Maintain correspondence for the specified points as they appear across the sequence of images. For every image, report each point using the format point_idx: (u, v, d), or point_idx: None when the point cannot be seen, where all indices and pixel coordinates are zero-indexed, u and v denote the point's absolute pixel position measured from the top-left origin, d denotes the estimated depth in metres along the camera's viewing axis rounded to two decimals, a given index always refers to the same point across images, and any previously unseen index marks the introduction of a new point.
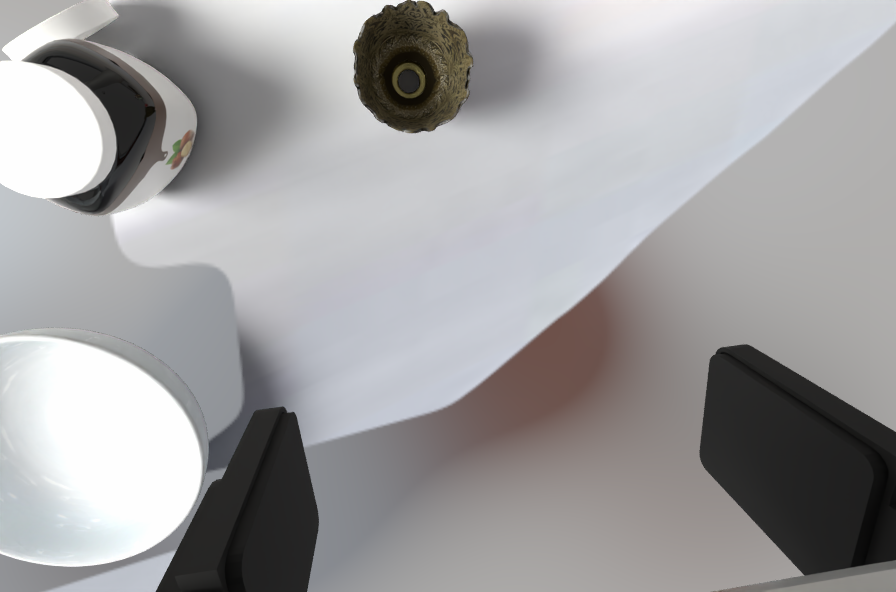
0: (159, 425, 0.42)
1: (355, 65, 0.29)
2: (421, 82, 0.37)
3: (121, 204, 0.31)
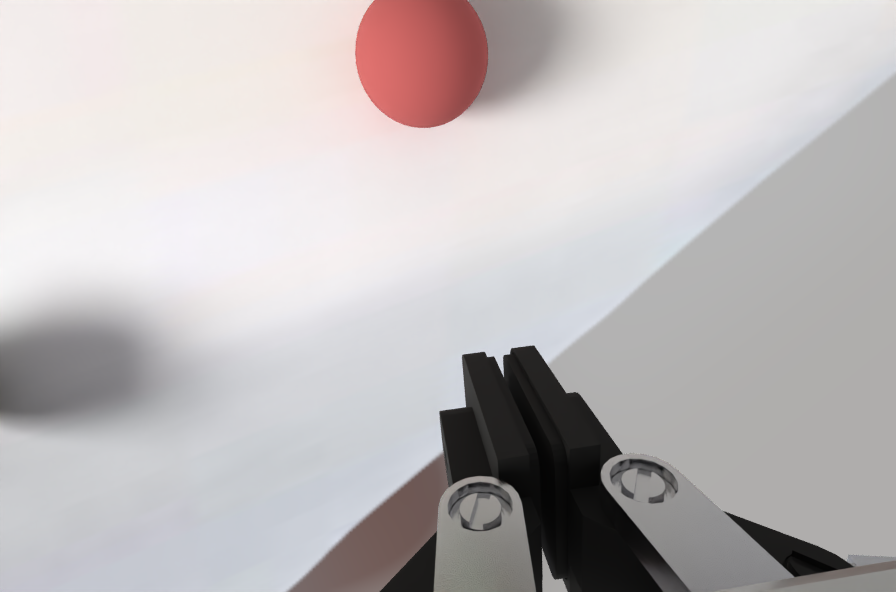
0: None
1: None
2: None
3: None
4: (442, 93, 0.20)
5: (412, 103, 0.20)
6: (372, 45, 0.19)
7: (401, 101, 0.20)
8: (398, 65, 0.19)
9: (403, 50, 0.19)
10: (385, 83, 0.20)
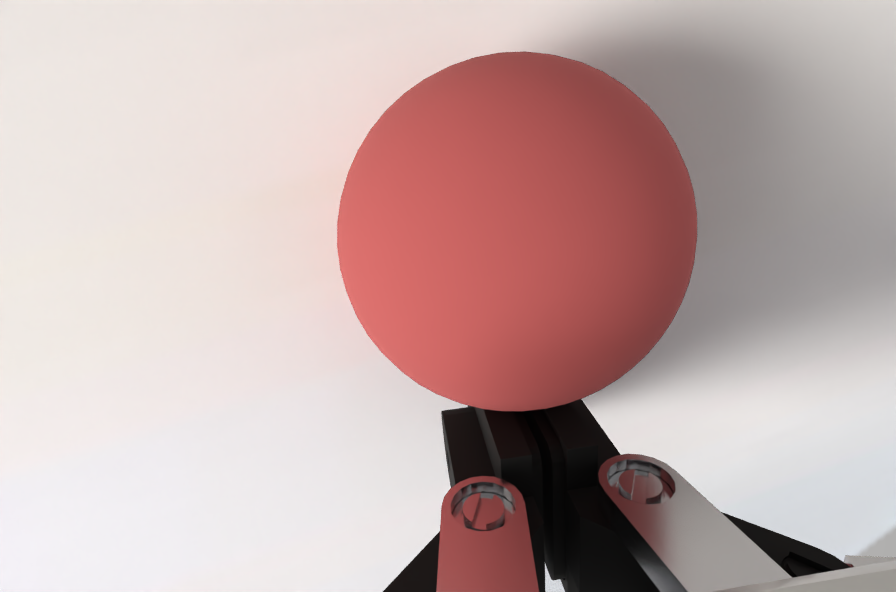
0: None
1: None
2: None
3: None
4: (592, 383, 0.07)
5: (501, 403, 0.07)
6: (383, 269, 0.06)
7: (469, 397, 0.07)
8: (469, 337, 0.06)
9: (486, 300, 0.06)
10: (425, 363, 0.07)
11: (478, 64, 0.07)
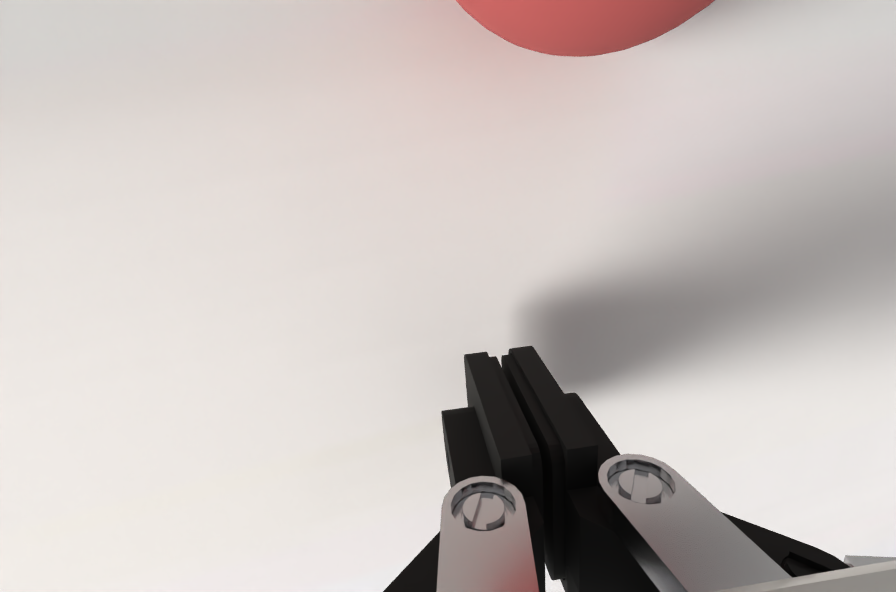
0: None
1: None
2: None
3: None
4: None
5: None
6: None
7: None
8: None
9: None
10: None
11: None
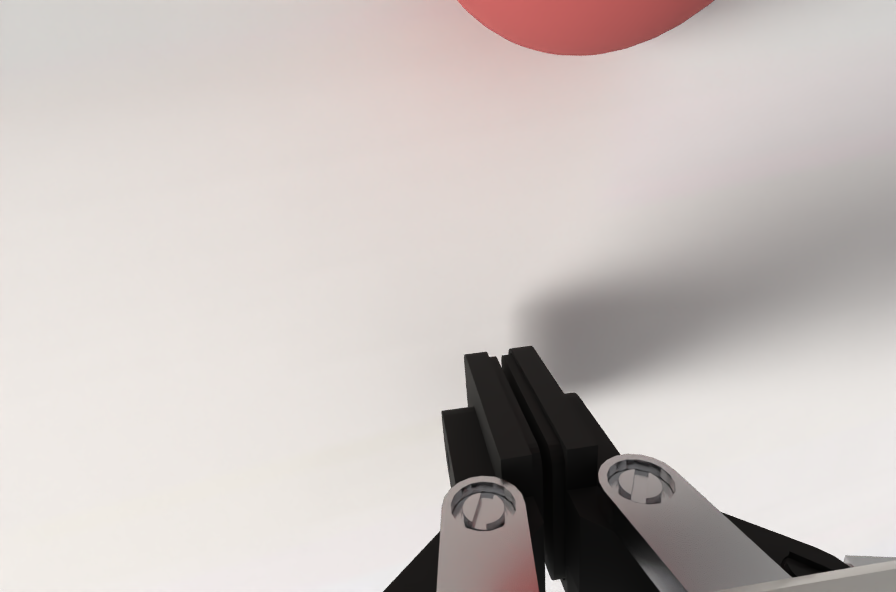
0: None
1: None
2: None
3: None
4: None
5: None
6: None
7: None
8: None
9: None
10: None
11: None
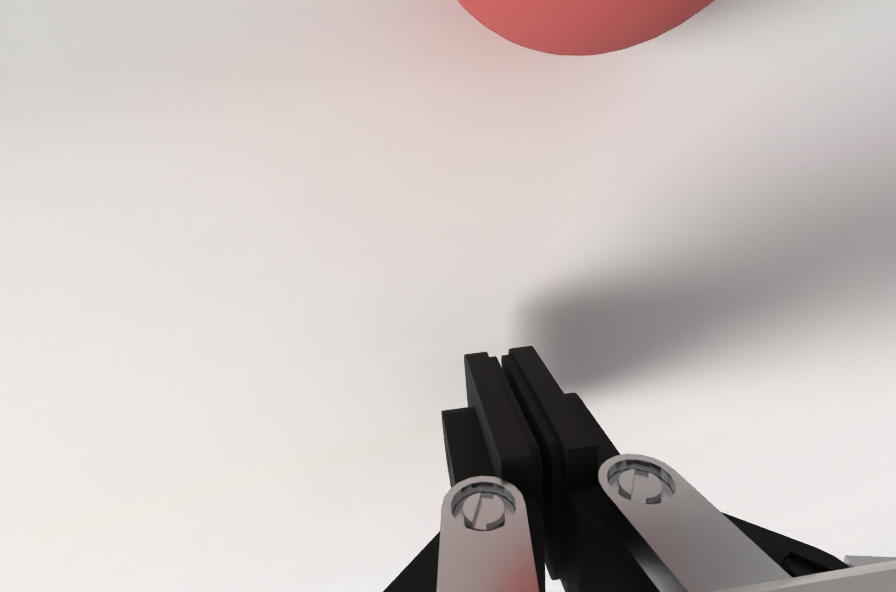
0: None
1: None
2: None
3: None
4: None
5: None
6: None
7: None
8: None
9: None
10: None
11: None
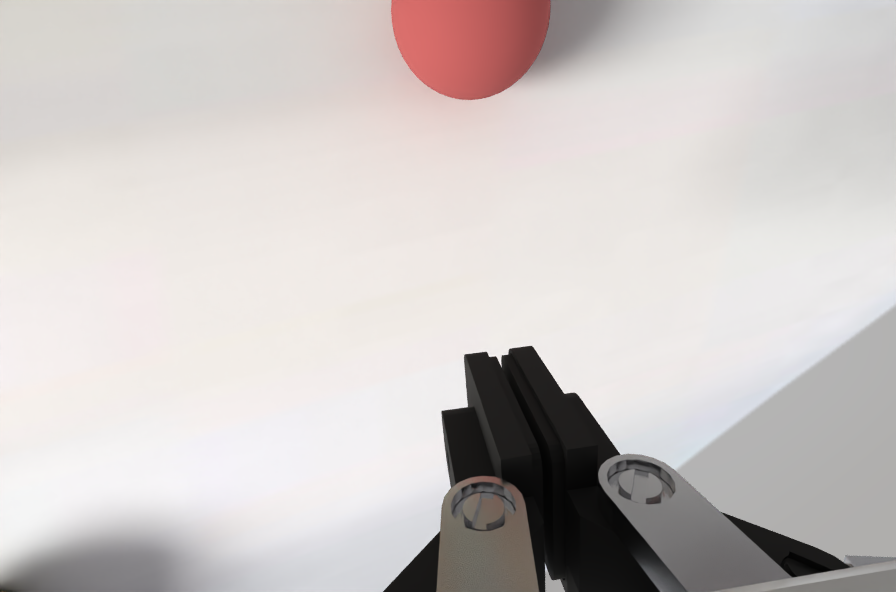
0: None
1: None
2: None
3: None
4: None
5: None
6: None
7: None
8: None
9: None
10: None
11: (474, 70, 0.17)
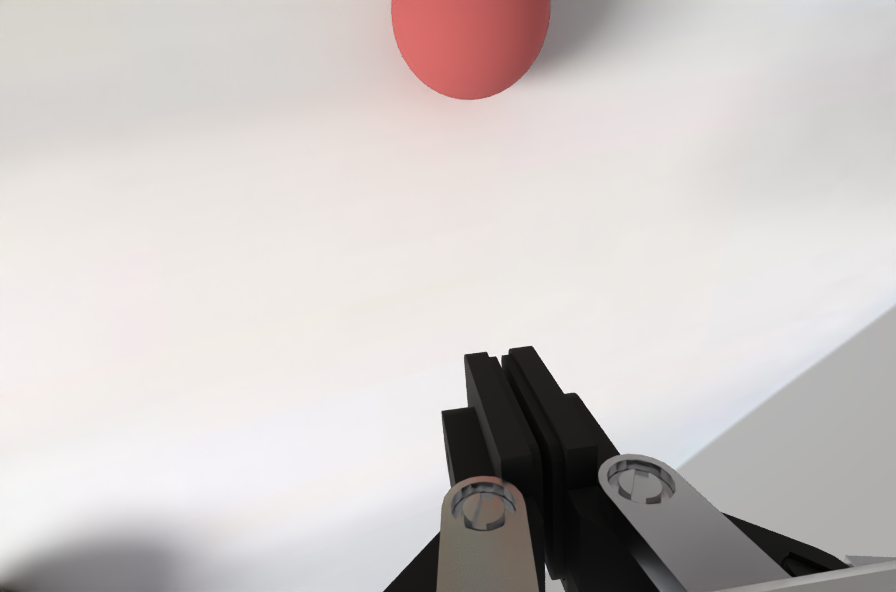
0: None
1: None
2: None
3: None
4: None
5: None
6: None
7: None
8: None
9: None
10: None
11: (474, 70, 0.17)
